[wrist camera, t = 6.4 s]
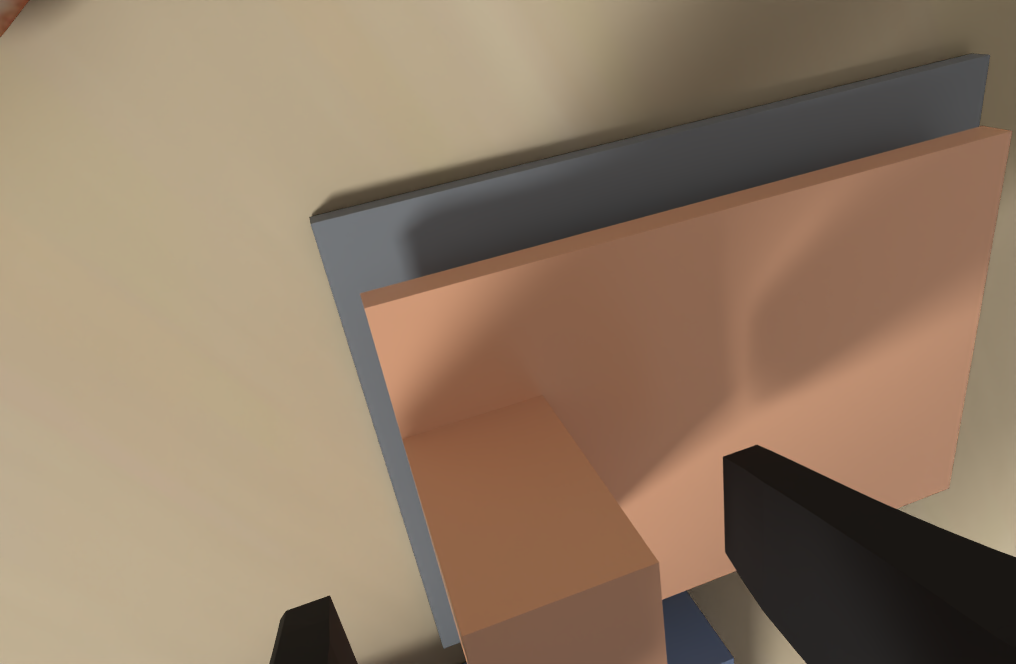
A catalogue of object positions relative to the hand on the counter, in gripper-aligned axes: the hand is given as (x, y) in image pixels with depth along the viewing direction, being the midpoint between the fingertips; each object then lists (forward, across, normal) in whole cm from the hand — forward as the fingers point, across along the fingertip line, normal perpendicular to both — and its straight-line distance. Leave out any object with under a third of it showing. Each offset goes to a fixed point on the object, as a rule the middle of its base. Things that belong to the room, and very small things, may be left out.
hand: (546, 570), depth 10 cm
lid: (+3, -4, 0) cm, 5 cm away
